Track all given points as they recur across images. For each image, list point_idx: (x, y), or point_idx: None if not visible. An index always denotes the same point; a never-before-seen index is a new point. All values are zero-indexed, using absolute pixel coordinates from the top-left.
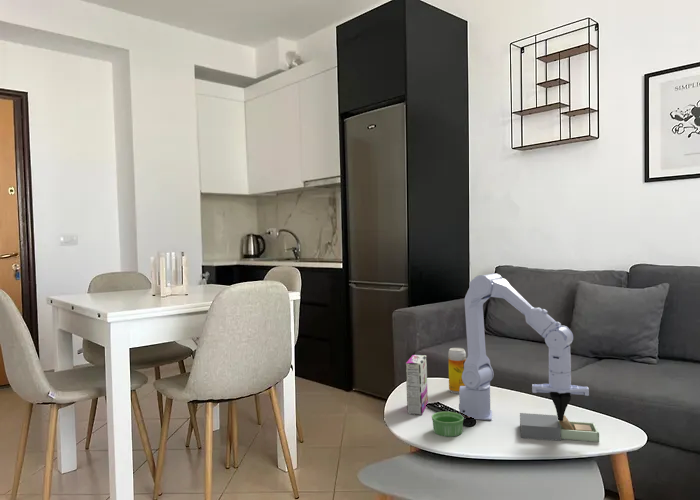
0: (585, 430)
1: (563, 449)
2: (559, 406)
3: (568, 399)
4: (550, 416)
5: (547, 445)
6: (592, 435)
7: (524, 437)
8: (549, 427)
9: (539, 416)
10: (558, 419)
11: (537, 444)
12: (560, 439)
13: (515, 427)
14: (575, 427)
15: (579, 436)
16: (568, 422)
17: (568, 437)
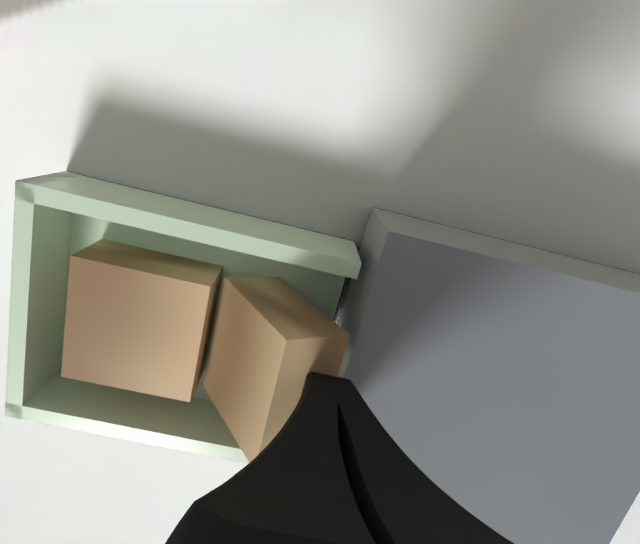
0: (129, 268)
1: (423, 16)
2: (369, 467)
3: (230, 513)
4: None
5: (520, 114)
6: (93, 192)
7: (631, 273)
8: (490, 254)
9: None
10: (352, 384)
11: (592, 138)
12: (373, 209)
13: None
14: (200, 331)
15: (210, 213)
16: (263, 339)
17: (299, 232)
